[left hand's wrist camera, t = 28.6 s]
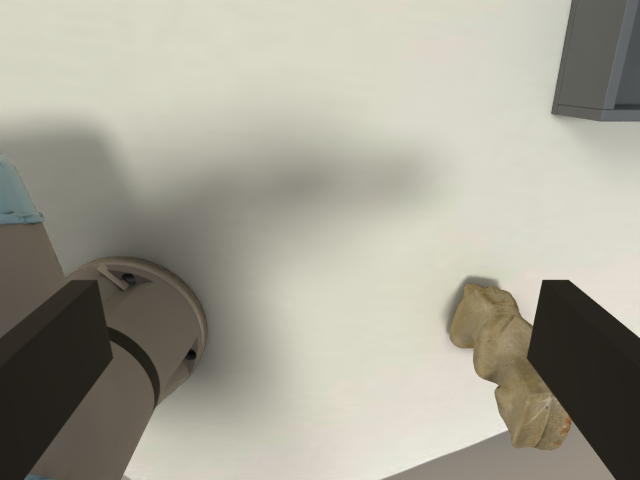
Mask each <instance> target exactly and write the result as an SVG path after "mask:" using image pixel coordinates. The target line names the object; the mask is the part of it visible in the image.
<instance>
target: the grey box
mask: <svg viewBox="0 0 640 480" xmlns="http://www.w3.org/2000/svg"><path fill="white" fill-rule="evenodd" d="M552 114H558V115H564V116H571V117H577V118H583V119H589V120H595V121H640V0H572V6H571V11H570V16H569V22H568V27H567V33H566V38H565V43H564V49H563V54H562V60H561V65H560V70H559V76H558V81H557V87H556V92H555V97H554V103H553V108H552Z"/></svg>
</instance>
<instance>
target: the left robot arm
mask: <svg viewBox="0 0 640 480" xmlns="http://www.w3.org/2000/svg"><path fill="white" fill-rule="evenodd" d="M44 221H45V220H44V216H43V214H41V213H39V212H38V211H37V210H36V208H35V206H34V204H33V202H32V200H31V198H30V196H29V194H28V192H27V190H26V187H25V185H24V183H23V181H22V179H21V177H20V175H19V173H18V171H17V170H16V168H15V166H14V165H13V164H12V163H11V162H10V161H9V160H8V159H7V158H5V157H4V156H3V155H1V154H0V480H121V478H122V476H123V474H124V472H125V470H126V467H127V465H128V463H129V461H130V459H131V457H132V455H133V453H134V451H135V449H136V447H137V444H138V442H139V440H140V438H141V436H142V434H143V432H144V430H145V428H146V426H147V424H148V422H149V420H150V418H151V415H152V413H153V411H154V409H155V408H156V406H157V405H158V404H159V403H161V402H162V401H163V400H164V399H165V398H166V397H167V396H168V395H170V394H171V393H172V392H173V391H174V390H175V389H176V388H178V387H179V386H180V385H181V384H182V383H183V382H184V381H185V380H186V379H187V378H188V377H189V376H190V375H191V374H192V372H193V371H194V370H195V368H196V366H197V364H198V362H199V360H200V357H201V355H202V353H203V350H204V347H205V344H206V338H207V326H206V320H205V316H204V313H203V310H202V308H201V305H200V303H199V302H198V300H197V298H196V297H195V295H194V294H193V292H192V291H191V290H190V289H189V288H188V287H187V286H186V285H185V284H184V283H183V282H182V281H181V280H180V279H179V278H178V277H176V276H175V275H174V274H172V273H171V272H169V271H167V270H166V269H164V268H162V267H160V266H158V265H156V264H153V263H151V262H148V261H144V260H141V259H136V258H129V257H109V258H103V259H99V260H95V261H92V262H90V263H87V264H85V265H83V266H81V267H80V268H78V269H77V270H76V271H74V272H73V273H72V274H70V275H69V276H68V277H67V278H65V276H64V273H63V271H62V269H61V266H60V264H59V262H58V259H57V257H56V254H55V252H54V250H53V247H52V245H51V243H50V240H49V238H48V235H47V233H46V231H45V228H44V226H43V223H42V222H44ZM527 359H528V361H529V362H530V363H531V365H532V366H533V368H534V369H535V370H536V372H537V373H538V374H539V376H540V377H541V378H542V380H543V381H544V383H545V384H546V385H547V387H548V388H549V389H550V391H551V392H552V393H553V395H554V396H555V398H556V399H557V400H558V402H559V403H560V404H561V406H562V407H563V408H564V410H565V411H566V413H567V414H568V415H569V417H570V418H571V419H572V421H573V422H574V423H575V425H576V426H577V427H578V429H579V430H580V432H581V433H582V434H583V436H584V437H585V438H586V440H587V441H588V442H589V444H590V445H591V447H592V448H593V449H594V451H595V452H596V453H597V455H598V456H599V457H600V459H601V460H602V462H603V463H604V464H605V466H606V467H607V468H608V470H609V471H610V472H611V474H612V475H613V477H614V478H615V479H616V480H640V338H639V337H638V336H637V335H635V334H634V333H633V332H632V331H631V330H629V329H628V328H627V327H626V326H624V325H623V324H622V323H621V322H619V321H618V320H617V319H616V318H615V317H613V316H612V315H611V314H610V313H608V312H607V311H606V310H605V309H604V308H602V307H601V306H600V305H599V304H597V303H596V302H595V301H594V300H593V299H591V298H590V297H589V296H588V295H586V294H585V293H584V292H583V291H582V290H580V289H579V288H578V287H577V286H575V285H574V284H573V283H572V282H571V281H569V280H542V285H541V290H540V295H539V300H538V305H537V310H536V314H535V319H534V324H533V329H532V334H531V339H530V344H529V349H528V354H527Z"/></svg>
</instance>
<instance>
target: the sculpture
mask: <svg viewBox="0 0 640 480" xmlns="http://www.w3.org/2000/svg"><path fill="white" fill-rule="evenodd" d="M463 293H464V296H463V299H462V301H461V302H460V304H459V305H458V307H457V310H456V312H455V314H454V317H453V320H452V323H451V327H450V339H451V341H452V343H453V344H454V345H456V346H457V347H460V348H474V354H473V362H474V368H475V371H476V373H477V374H478V376H479V377H481V378H483V379H485V380H488V381H491V382H494V383H496V384H498V385H499V386H498V387H497V388H496V389H495V398H496V401H497V405H498V410H499V413H500V416H501V417H502V419H503V420H504V422H505V424H506V426H507V428H508V430H509V432H510V433H511V441H512V445H513V447H515V448H524V447H534V448H537V449H541V450H547V451H551V450H555V449H557V448H559V446H560V445H561V444H562V443H563V442H564V440H565V438H566V436H567V434H568V431H569V429H570V426H571V423H572V419H571V418H570V417H569V415H568V414H567V413H566V411H565V410H564V408H563V407H562V406H561V404H560V403H559V402H558V400H557V399H556V398H555V396H554V395H553V393H552V392H551V391H550V389H549V388H548V387H547V385H546V384H545V383H544V381H543V380H542V378H541V377H540V376H539V374H538V373H537V372H536V370H535V369H534V368H533V366H532V365H531V363H530V362H529V361H528V359H527V354H528V349H529V344H530V339H531V334H532V329H533V326H532V325H531V324H530V323H528V322H527V321H526V320H524V319H523V318H522V317H521V314H520V313H519V309H518V306H517V303H516V301H515V299H514V298H513V297H512V295H511V294H510V293H509V292H507V291H504V290H500V289H499V288H497V287H493V286H488V287H487V288H482V287H480V286H479V285H477V284H467V285H465V287H464V290H463Z"/></svg>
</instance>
